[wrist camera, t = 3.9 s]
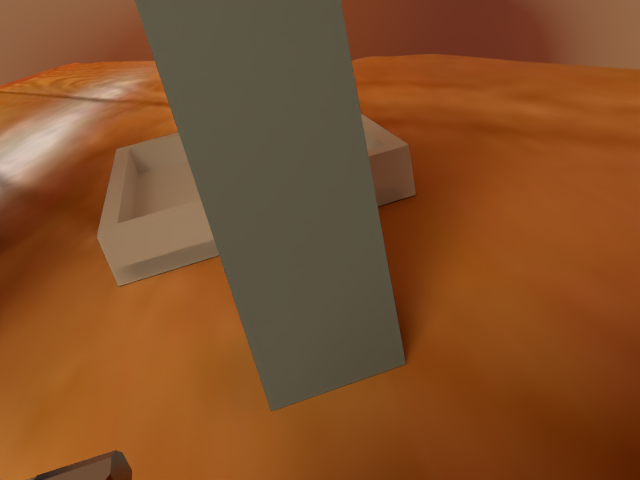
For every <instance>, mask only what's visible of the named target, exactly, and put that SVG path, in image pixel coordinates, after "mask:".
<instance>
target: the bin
mask: <svg viewBox="0 0 640 480" xmlns="http://www.w3.org/2000/svg"><path fill="white" fill-rule="evenodd" d="M361 117H362V123H363V128H364V134H365V139H366V145H367V150H368V156H369V161H370V167H371V173H372V178H373V184H374V189H375V195H376V200H377V206H381V205H384V204H387V203H390V202H394V201H397V200H400V199H403V198H407V197H410V196H413V195H416V190H415V183H414V176H413V169H412V163H411V156H410V149H409V144H407V143H406V142H404V141H403V140H401V139H399V138H398V137H396V136H395V135H393V134H392V133H390V132H389V131H387V130H386V129H384V128H383V127H381V126H380V125H378V124H377V123H375V122H373V121H372V120H370V119H369V118H367V117H366V116H364V115H363V114H361ZM97 239H98V241H99V243H100V246H101V248H102V250H103V253H104V255H105V257H106V260H107V262H108V264H109V266H110V269H111V271H112V273H113V276H114V278H115V280H116V282H117V285H118V286H121V285H124V284H128V283H131V282H134V281H137V280H141V279H144V278H147V277H150V276H154V275H157V274H160V273H163V272H167V271H170V270H173V269H176V268H180V267H183V266H186V265H189V264H193V263H196V262H199V261H202V260H206V259H209V258H212V257H215V256H218V255H219V253H218V250H217V247H216V244H215V241H214V238H213V235H212V232H211V229H210V226H209V223H208V220H207V217H206V214H205V211H204V208H203V205H202V202H201V199H200V195H199V192H198V189H197V186H196V183H195V180H194V177H193V174H192V171H191V168H190V165H189V162H188V159H187V156H186V153H185V150H184V147H183V144H182V141H181V138H180V135H179V132H176V133H173V134H169V135H165V136H162V137H158V138H155V139H151V140H147V141H144V142H140V143H136V144H133V145H129V146H126V147H122V148H118V149H116V153H115V157H114V162H113V166H112V171H111V175H110V180H109V184H108V188H107V193H106V197H105V202H104V206H103V211H102V215H101V219H100V224H99V228H98V233H97Z"/></svg>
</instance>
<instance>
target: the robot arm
mask: <svg viewBox="0 0 640 480" xmlns="http://www.w3.org/2000/svg"><path fill="white" fill-rule="evenodd" d="M27 480H132V469H131V468H130V466H129V464H128V462H127V460H126V459H125V457H124V455H123V453H122V452H119V451H116V450H115V451H112V452H109V453H105V454H102V455H99V456H96V457H93V458H90V459H87V460H84V461H81V462H78V463H74V464H71V465H68V466H65V467H62V468H59V469H56V470H53V471H50V472H47V473H43V474H40V475H37V476H36V477H34V478H30V479H27Z"/></svg>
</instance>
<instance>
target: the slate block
mask: <svg viewBox="0 0 640 480" xmlns="http://www.w3.org/2000/svg"><path fill="white" fill-rule="evenodd" d="M135 2H136V5H137V8H138V12H139V15H140V18H141V21H142V23H143V27H144V29H145V33H146V36H147V39H148V42H149V45H150V48H151V51H152V54H153V57H154V60H155V63H156V66H157V69H158V72H159V75H160V78H161V81H162V84H163V87H164V90H165V93H166V96H167V99H168V102H169V105H170V108H171V111H172V114H173V117H174V120H175V123H176V126H177V129H178V132H179V135H180V138H181V141H182V144H183V147H184V150H185V153H186V156H187V159H188V162H189V165H190V168H191V171H192V174H193V177H194V180H195V183H196V186H197V189H198V192H199V195H200V199H201V202H202V205H203V208H204V211H205V214H206V217H207V220H208V223H209V226H210V229H211V232H212V235H213V238H214V241H215V244H216V247H217V250H218V253H219V256H220V259H221V262H222V265H223V268H224V271H225V274H226V277H227V280H228V283H229V286H230V289H231V292H232V295H233V298H234V301H235V304H236V307H237V310H238V313H239V316H240V319H241V322H242V325H243V328H244V331H245V334H246V337H247V340H248V343H249V346H250V349H251V352H252V355H253V358H254V361H255V364H256V367H257V370H258V373H259V376H260V379H261V382H262V385H263V388H264V391H265V394H266V397H267V401H268V404H269V407H270V410H271V411H273V410H276V409H279V408H282V407H285V406H288V405H290V404H293V403H296V402H299V401H302V400H305V399H308V398H310V397H313V396H316V395H319V394H322V393H325V392H328V391H330V390H333V389H336V388H339V387H342V386H345V385H348V384H350V383H353V382H356V381H359V380H362V379H365V378H368V377H370V376H373V375H376V374H379V373H382V372H385V371H388V370H390V369H393V368H396V367H399V366H402V365H405V364H406V361H405V356H404V350H403V345H402V339H401V334H400V328H399V323H398V317H397V311H396V306H395V300H394V295H393V289H392V284H391V278H390V273H389V267H388V261H387V256H386V250H385V245H384V239H383V234H382V228H381V223H380V217H379V211H378V206H377V200H376V195H375V189H374V184H373V178H372V173H371V167H370V161H369V156H368V150H367V145H366V139H365V134H364V128H363V123H362V117H361V111H360V106H359V100H358V95H357V89H356V84H355V78H354V73H353V67H352V61H351V56H350V50H349V45H348V40H347V34H346V28H345V23H344V17H343V12H342V6H341V1H340V0H135Z"/></svg>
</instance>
